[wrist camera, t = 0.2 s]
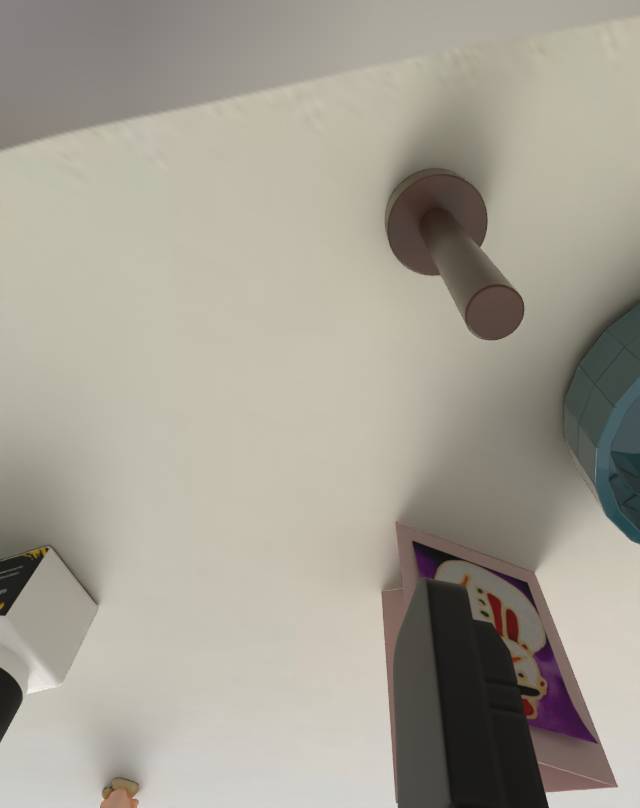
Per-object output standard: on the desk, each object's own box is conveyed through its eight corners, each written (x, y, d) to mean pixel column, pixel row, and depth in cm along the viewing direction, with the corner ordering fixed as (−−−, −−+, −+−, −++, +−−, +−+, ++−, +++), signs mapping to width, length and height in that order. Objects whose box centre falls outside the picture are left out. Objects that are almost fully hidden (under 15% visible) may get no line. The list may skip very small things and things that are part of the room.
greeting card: (541, 565, 43) (628, 778, 29) (488, 629, 46) (545, 846, 33) (401, 513, 41) (427, 714, 28) (356, 583, 44) (360, 792, 31)
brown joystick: (394, 161, 30) (433, 217, 17) (489, 176, 30) (604, 244, 17) (377, 257, 32) (398, 375, 19) (464, 270, 33) (548, 397, 19)
